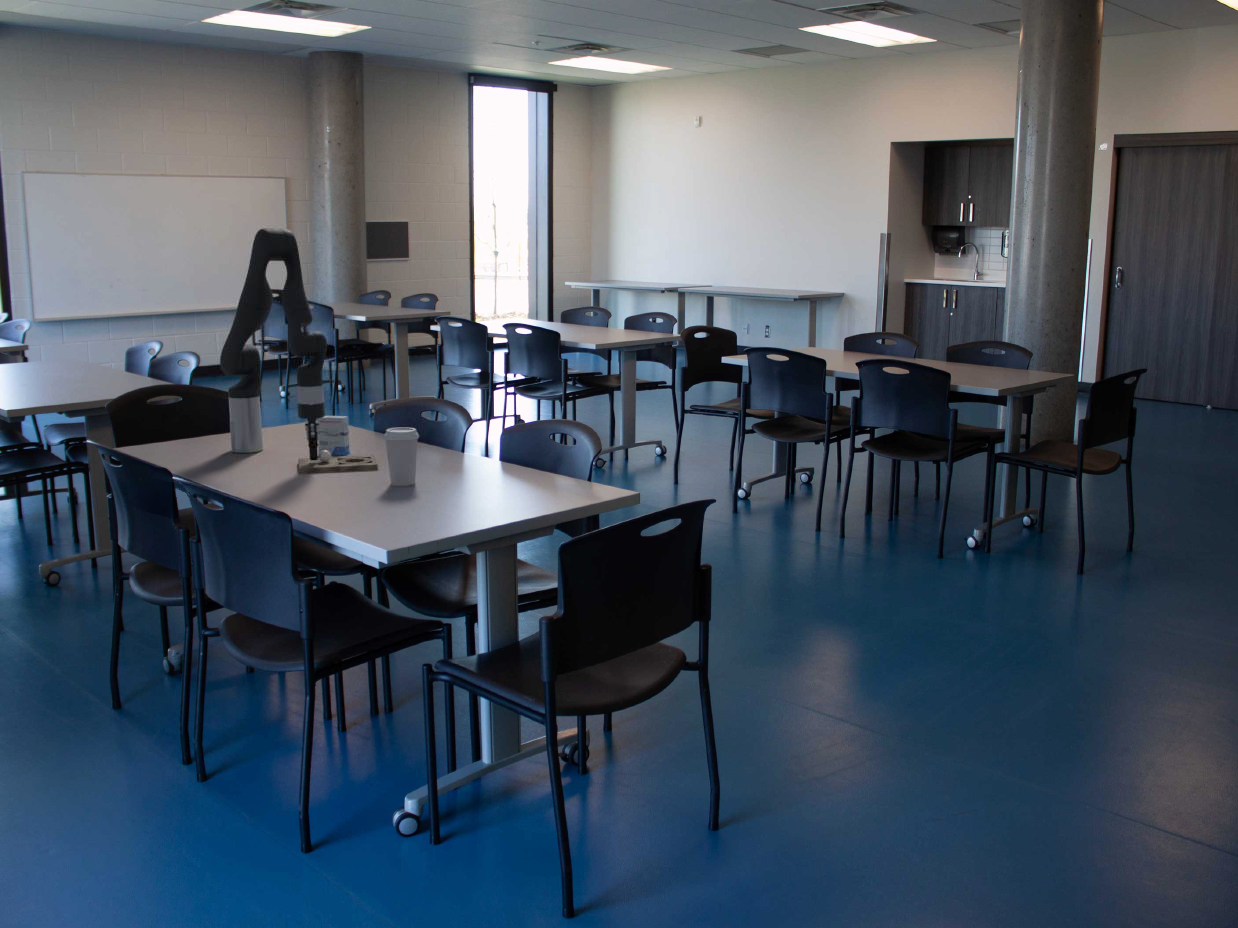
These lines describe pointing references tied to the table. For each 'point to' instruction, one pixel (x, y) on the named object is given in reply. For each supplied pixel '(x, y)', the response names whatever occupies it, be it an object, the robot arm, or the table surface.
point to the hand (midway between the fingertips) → (313, 459)
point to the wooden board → (338, 464)
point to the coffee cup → (402, 455)
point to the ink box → (333, 434)
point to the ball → (324, 456)
